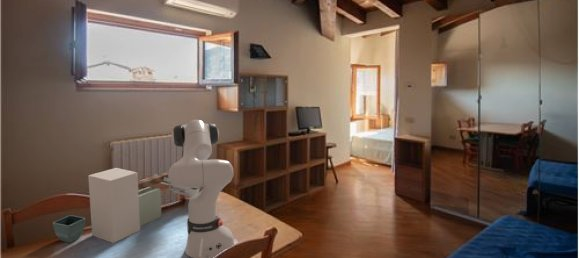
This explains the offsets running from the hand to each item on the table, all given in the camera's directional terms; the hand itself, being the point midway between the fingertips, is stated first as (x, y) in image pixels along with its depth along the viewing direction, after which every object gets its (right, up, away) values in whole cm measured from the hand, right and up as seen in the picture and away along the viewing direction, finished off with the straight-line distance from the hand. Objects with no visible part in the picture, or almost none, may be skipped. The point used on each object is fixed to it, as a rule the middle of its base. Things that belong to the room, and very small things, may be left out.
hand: (159, 177), depth 183 cm
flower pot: (-29, -23, -28) cm, 46 cm away
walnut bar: (-2, -3, -4) cm, 6 cm away
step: (-5, -20, -7) cm, 22 cm away
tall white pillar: (-12, -22, -20) cm, 33 cm away
